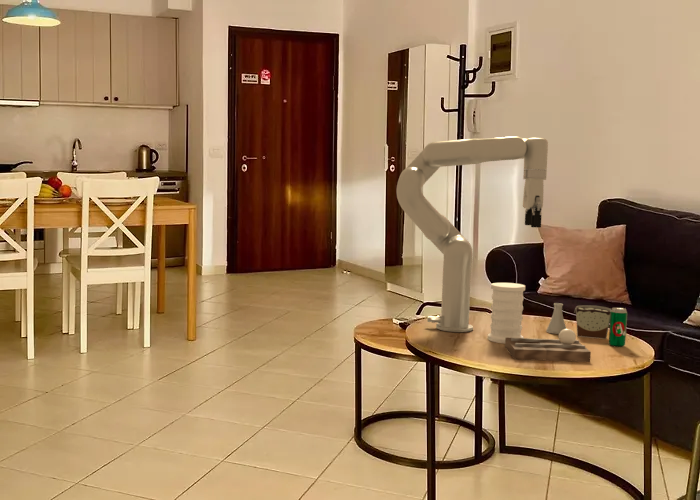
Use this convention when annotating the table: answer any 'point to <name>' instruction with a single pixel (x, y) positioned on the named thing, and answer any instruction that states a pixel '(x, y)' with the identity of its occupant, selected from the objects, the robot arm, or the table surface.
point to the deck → (546, 350)
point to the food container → (592, 321)
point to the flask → (556, 320)
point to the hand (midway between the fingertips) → (532, 226)
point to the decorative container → (506, 311)
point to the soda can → (618, 327)
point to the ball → (567, 337)
